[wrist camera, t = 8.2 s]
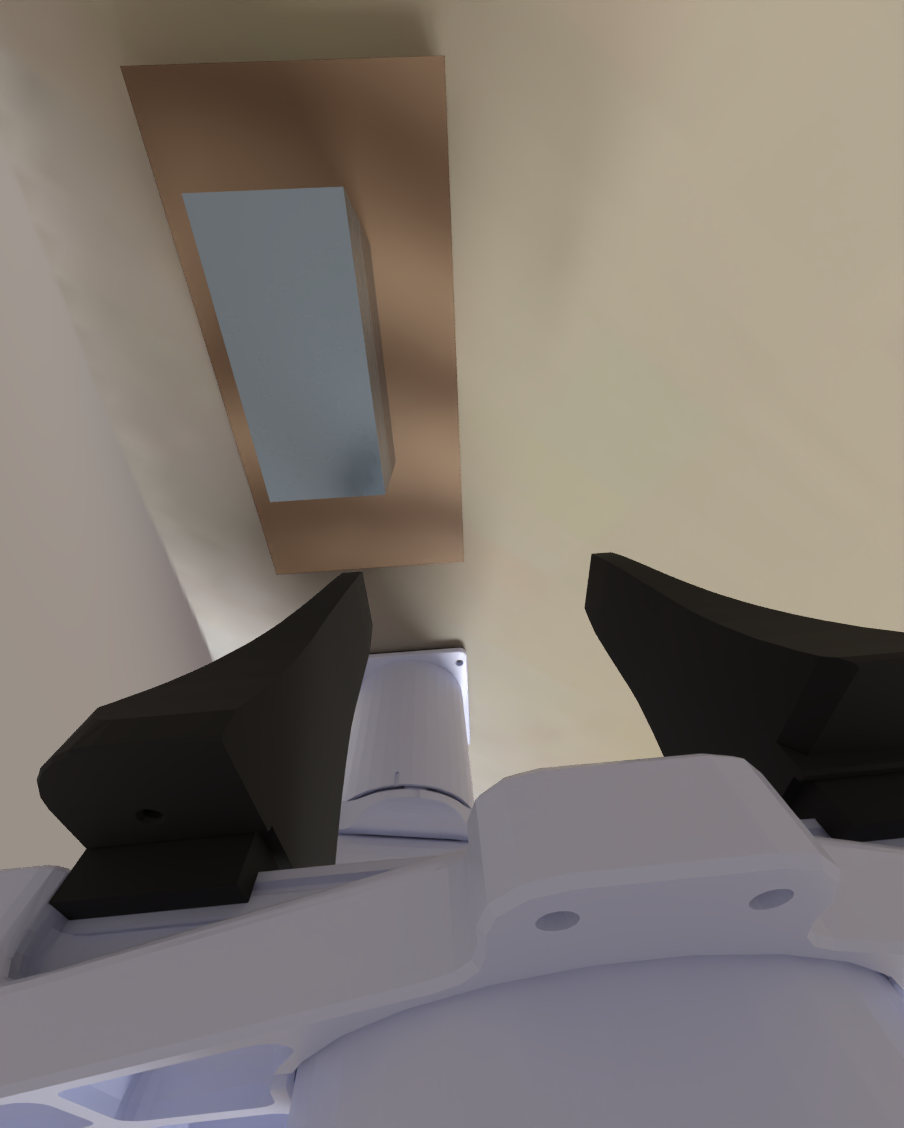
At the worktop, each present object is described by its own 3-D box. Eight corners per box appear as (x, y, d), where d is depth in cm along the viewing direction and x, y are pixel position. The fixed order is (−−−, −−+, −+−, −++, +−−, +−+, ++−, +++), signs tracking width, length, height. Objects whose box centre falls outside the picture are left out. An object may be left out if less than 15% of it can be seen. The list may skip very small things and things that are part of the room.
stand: (461, 549, 22) (464, 561, 20) (286, 561, 21) (276, 574, 20) (442, 86, 13) (444, 55, 12) (151, 96, 13) (120, 66, 12)
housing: (369, 243, 14) (343, 186, 9) (395, 462, 18) (385, 494, 13) (260, 248, 14) (181, 193, 9) (309, 467, 18) (270, 502, 13)
